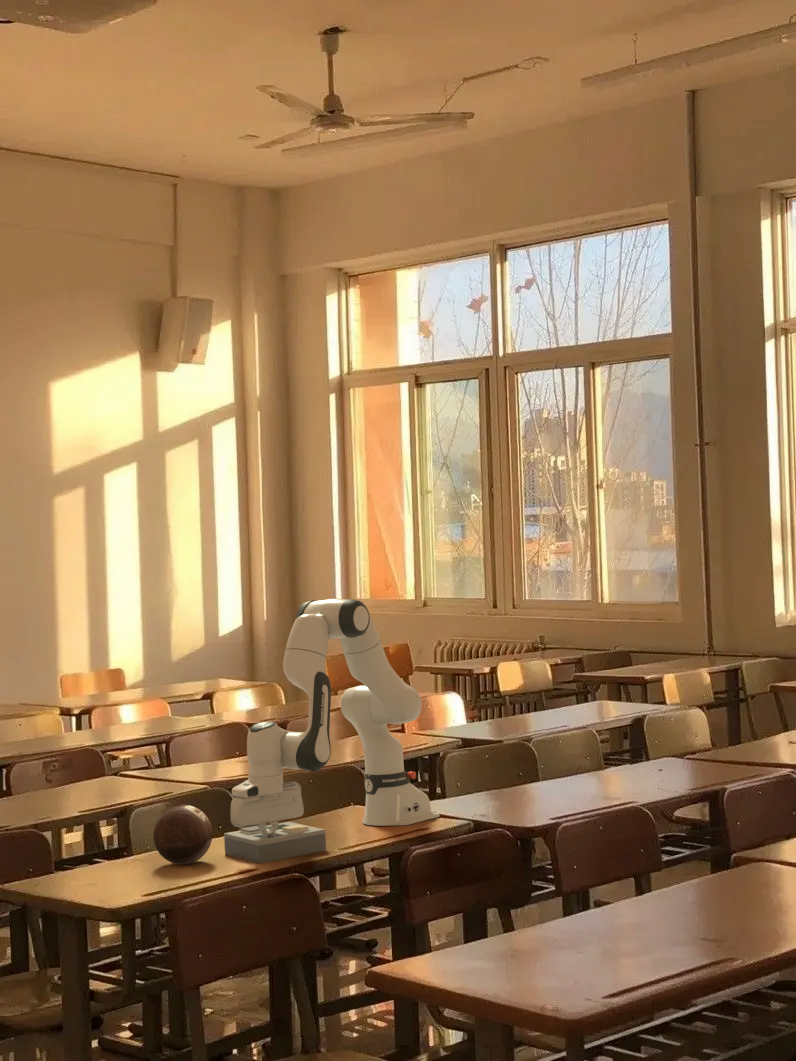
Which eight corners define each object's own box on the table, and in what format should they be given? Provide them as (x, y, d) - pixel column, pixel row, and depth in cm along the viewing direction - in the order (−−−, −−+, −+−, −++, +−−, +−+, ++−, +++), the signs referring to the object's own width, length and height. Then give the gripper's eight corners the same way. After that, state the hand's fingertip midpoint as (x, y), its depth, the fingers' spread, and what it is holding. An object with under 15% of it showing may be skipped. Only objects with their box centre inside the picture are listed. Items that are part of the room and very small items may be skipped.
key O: (257, 836, 397) (256, 825, 397) (266, 839, 393) (266, 827, 393) (240, 840, 394) (240, 828, 394) (250, 842, 390) (249, 830, 390)
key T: (298, 835, 395) (298, 824, 395) (308, 838, 391) (308, 826, 391) (282, 838, 392) (281, 827, 392) (292, 841, 388) (292, 829, 388)
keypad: (289, 841, 406) (288, 821, 406) (326, 850, 391) (324, 829, 391) (225, 854, 394) (224, 833, 394) (260, 863, 380) (258, 841, 380)
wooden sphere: (210, 868, 377) (206, 808, 378) (150, 871, 377) (147, 812, 378) (217, 856, 392) (213, 798, 393) (160, 859, 392) (156, 802, 392)
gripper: (293, 779, 396) (296, 831, 396) (226, 790, 384) (229, 844, 384) (306, 781, 391) (309, 834, 391) (238, 792, 379) (241, 847, 379)
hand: (269, 839), depth 387 cm, fingers closed, pressing on key A
